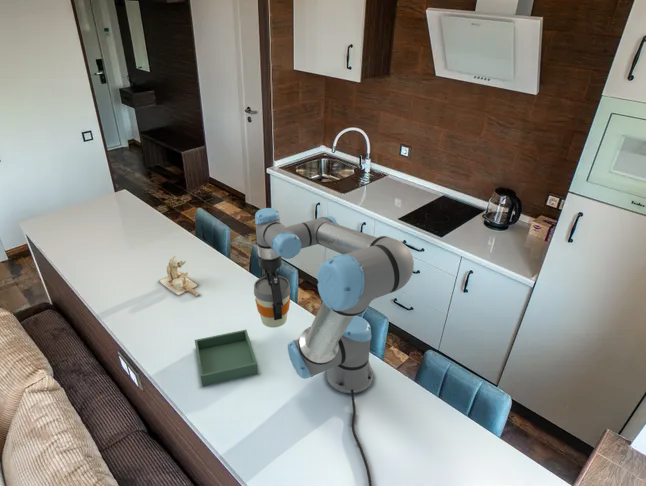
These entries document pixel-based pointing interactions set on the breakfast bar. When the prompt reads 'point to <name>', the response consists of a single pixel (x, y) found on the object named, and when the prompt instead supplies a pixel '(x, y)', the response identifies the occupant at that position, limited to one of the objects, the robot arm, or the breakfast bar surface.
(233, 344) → the green square tray
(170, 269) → the wooden toy
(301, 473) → the breakfast bar surface
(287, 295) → the reusable coffee cup
